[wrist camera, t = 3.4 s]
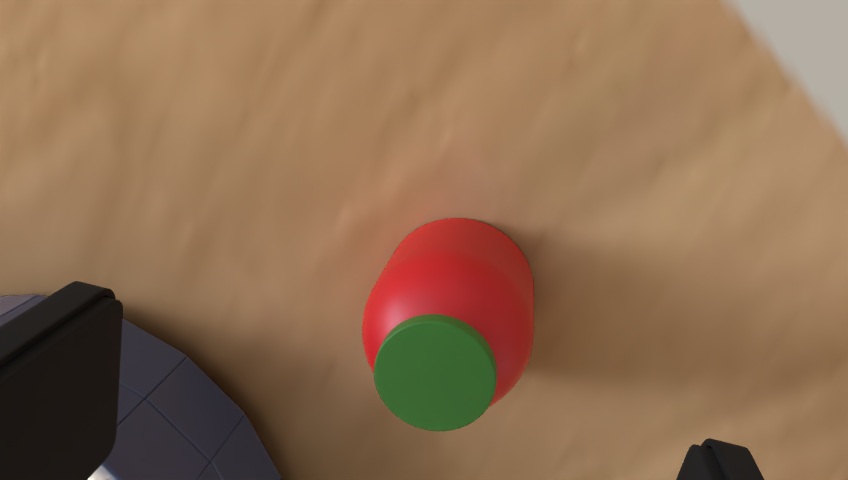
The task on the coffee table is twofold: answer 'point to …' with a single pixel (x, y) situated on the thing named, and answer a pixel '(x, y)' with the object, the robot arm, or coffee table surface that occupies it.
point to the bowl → (170, 416)
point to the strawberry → (449, 323)
